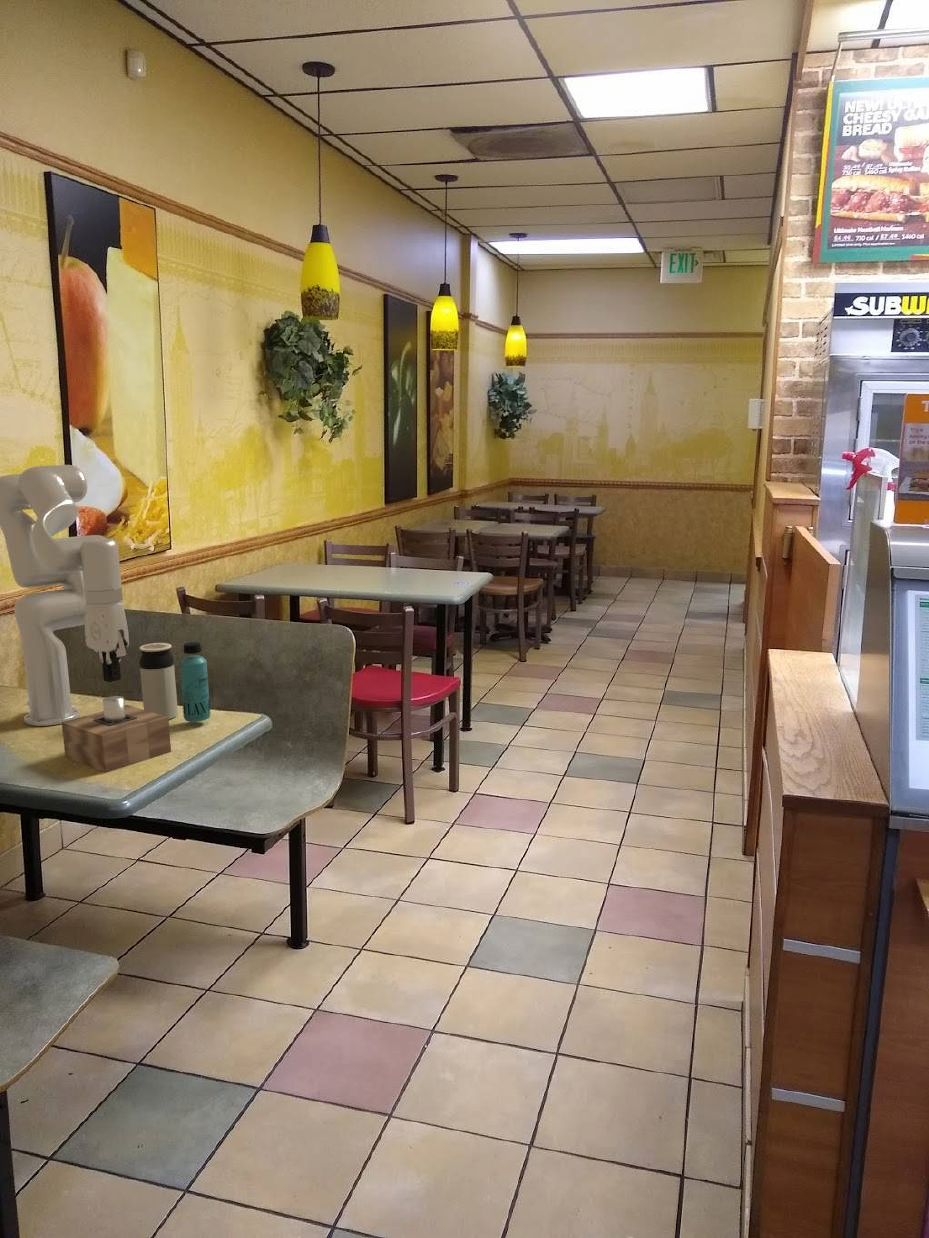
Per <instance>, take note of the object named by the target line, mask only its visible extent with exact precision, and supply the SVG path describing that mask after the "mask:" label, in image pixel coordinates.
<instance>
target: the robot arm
mask: <svg viewBox="0 0 929 1238" xmlns="http://www.w3.org/2000/svg"><path fill="white" fill-rule="evenodd" d="M87 493H88V482H87V477H86V476H85V474H84V473H83V471H82V470H81V469H80V468H79V467H77V466H75V465H73V464H72V465H71V464H56V465H37V466H32V467H29V468H27V469H25V470H24V471H22V473H14V474H6V475H2V476H0V530H1V531H2V534H3V537H4V540H5V545H6V550H7V555H8V559H9V564H10V567H11V568H10V569H11V572H12V576H13V578H14V581H15V583H16V584H17V586H19V587H21V588H25V589H32V588H33V589H35V588H42V587H50V586H57V585H61V586H62V587H63V589H57V590H55V589H54V590H47V591H38V592H32V593H28V594H25V595H23V596H21V597H20V598H19V599H18V600H17V601H16V602H15V604H14V610H13V612H14V616H15V621H16V624H17V626H18V627H17V628H18V630H19V634H20V639H21V644H22V651H23V660H24V661H23V662H24V669H25V677H26V678H25V680H26V685H27V686H26V687H27V696H28V697H27V698H28V700H27V702H26V705H27V707H29V712H28V713H26V714H25V715H24V717H23V722H24V724H26V725H29V726H34V727H35V726H36V727H41V726H43V727H45V726H55V725H62V722H64V721H68V720H72V719H76V718H79V716H80V711H79V709H77V708H75V707H72V706H73V705H72V699H71V697H72V696H71V688H70V687H71V686H70V678H69V677H70V676H69V670H68V658H67V650H66V646H65V645H64V643H63V641H62V640H61V639H60V638H58V637H57V636H56V635H55V634H54V631H59V630H62V629H69V628H74V627H75V628H76V627H79V626H80V627H81V626H83V625H84V636H85V637H84V639H85V645H86V646H87V648H89V649H90V650H94V652H95V653H97V654H98V657H99V660H100V661H99V662H100V663H101V667H102V676H103V678H102V679H103V681H104V682H107V683H112V682H116V681H117V682H118V681H120V680H121V679H122V675H121V665H120V664H121V661H122V657H125V656H126V655H127V650H126V649H127V648H128V647H129V645H130V640H129V637H130V636H129V629H128V623H127V617H126V616H127V615H126V612H125V609H124V608H125V607H124V595H123V594H124V593H123V587H122V586H123V585H122V577H121V576H122V575H121V566H120V556H119V546H118V543H117V540H115V539H112V538H106V537H105V536H103V535H100V534H91V535H90V534H88V535H82V536H81V535H77V536H68V537H67V536H66V537H59V538H55V537H54V536H55V535H57V534H59V533H61V532H63V531H64V530H67V529H68V528H69V527H70V526H72V525H73V524H74V523H75V522H76V520H77V517H78V514H79V508H78V505H77V503H78V502H80V501H82V500H83V499H84V498H85V497H86V495H87ZM25 510H26V511H27V510H33V512H34V514H35V516H36V517H37V518H36V520H35V519H34V518H33V517H32V516H30V515H29V514H28V513H26V512H25Z"/></svg>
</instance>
